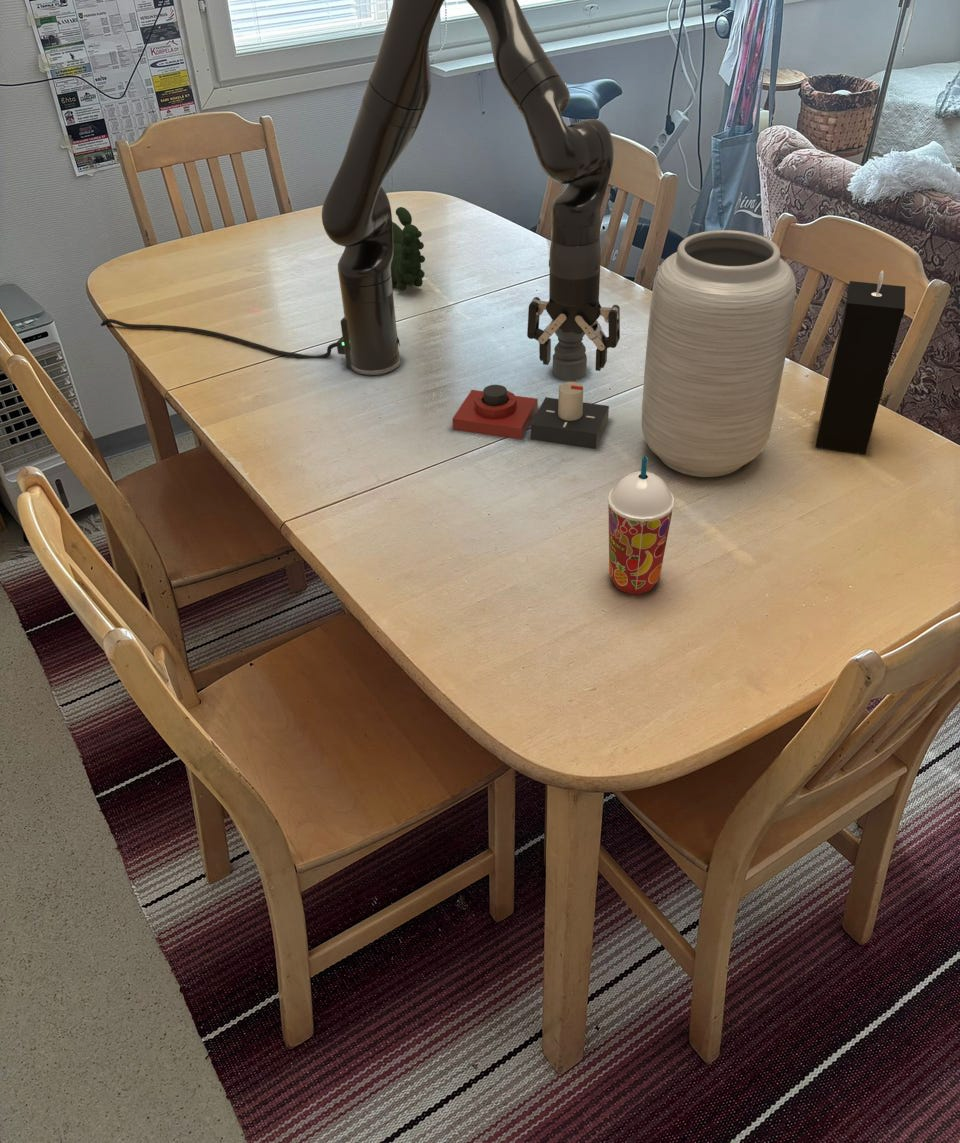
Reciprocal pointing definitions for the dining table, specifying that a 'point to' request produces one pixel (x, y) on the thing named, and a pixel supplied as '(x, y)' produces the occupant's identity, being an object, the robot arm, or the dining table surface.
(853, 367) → the black pillar candle
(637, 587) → the smoothie
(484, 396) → the button
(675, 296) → the vase
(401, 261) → the dark green lumpy figure
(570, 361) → the candle holder
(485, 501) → the dining table surface
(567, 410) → the knob
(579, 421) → the control panel
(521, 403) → the button housing
